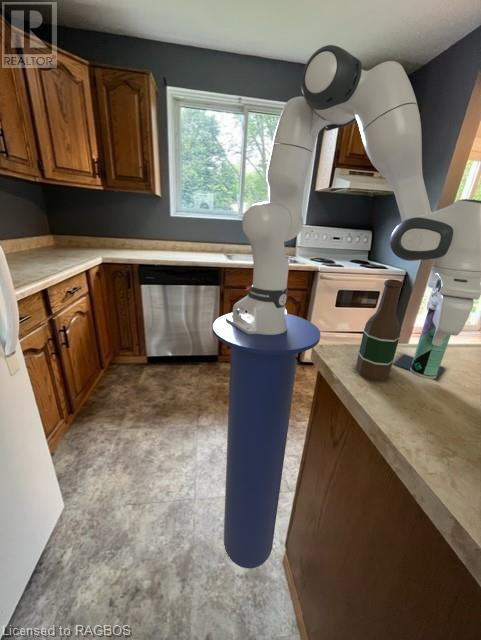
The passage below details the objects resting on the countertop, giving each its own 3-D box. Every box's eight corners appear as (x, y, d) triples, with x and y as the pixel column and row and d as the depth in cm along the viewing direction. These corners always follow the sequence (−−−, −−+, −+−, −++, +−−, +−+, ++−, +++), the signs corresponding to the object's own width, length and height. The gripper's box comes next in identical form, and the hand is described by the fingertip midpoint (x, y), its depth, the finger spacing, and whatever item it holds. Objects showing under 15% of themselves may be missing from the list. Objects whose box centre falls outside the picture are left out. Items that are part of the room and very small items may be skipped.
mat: (393, 364, 74) (393, 363, 74) (403, 354, 80) (403, 354, 80) (436, 379, 67) (436, 379, 67) (444, 368, 73) (444, 367, 73)
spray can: (427, 368, 69) (452, 292, 62) (441, 379, 64) (470, 298, 57) (405, 366, 69) (428, 290, 62) (417, 378, 64) (444, 297, 57)
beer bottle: (370, 383, 64) (395, 284, 56) (348, 367, 71) (367, 277, 63) (395, 379, 67) (422, 283, 59) (372, 364, 74) (393, 276, 65)
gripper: (429, 272, 69) (414, 323, 74) (443, 287, 52) (422, 352, 56) (460, 276, 66) (442, 328, 71) (485, 293, 49) (459, 360, 54)
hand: (433, 339), depth 64 cm, fingers closed on spray can, 5 cm apart
